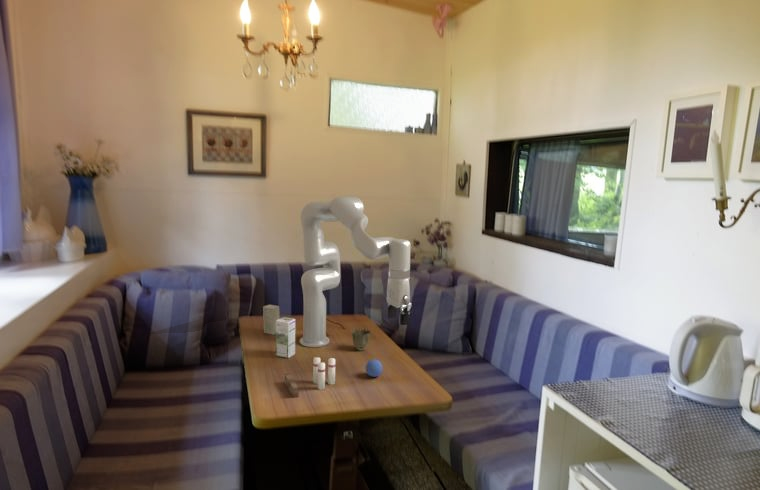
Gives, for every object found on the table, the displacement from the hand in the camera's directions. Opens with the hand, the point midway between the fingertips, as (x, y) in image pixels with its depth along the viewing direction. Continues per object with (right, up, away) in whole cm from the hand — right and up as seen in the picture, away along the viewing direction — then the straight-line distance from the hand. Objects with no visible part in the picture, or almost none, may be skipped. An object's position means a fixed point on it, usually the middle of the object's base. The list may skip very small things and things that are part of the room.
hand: (398, 320), depth 172 cm
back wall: (-36, -20, -14) cm, 44 cm away
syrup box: (-44, -16, +16) cm, 49 cm away
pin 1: (-28, -20, -8) cm, 35 cm away
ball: (-9, -17, -2) cm, 19 cm away
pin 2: (-26, -20, -12) cm, 35 cm away
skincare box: (-55, -12, +42) cm, 71 cm away
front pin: (-23, -20, -8) cm, 32 cm away
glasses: (-31, -13, +49) cm, 60 cm away
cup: (-14, -16, +24) cm, 33 cm away
